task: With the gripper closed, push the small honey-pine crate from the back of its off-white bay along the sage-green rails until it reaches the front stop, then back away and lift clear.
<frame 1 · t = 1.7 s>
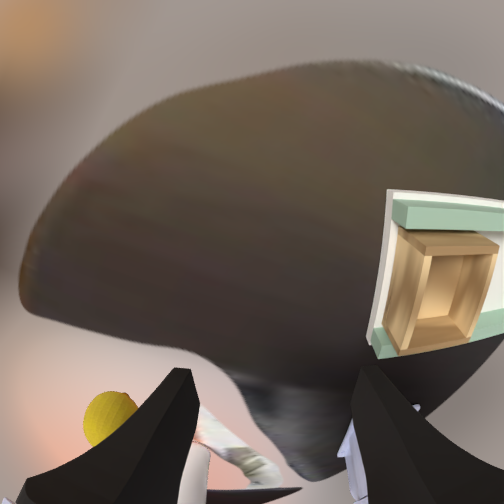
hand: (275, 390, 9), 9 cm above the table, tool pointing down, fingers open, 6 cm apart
crate: (440, 288, 14), point 3 cm above the table, slide at 0.0 cm
bay: (465, 267, 17), on the table
lemon: (126, 392, 24), on the table
drinking glass: (190, 446, 27), on the table
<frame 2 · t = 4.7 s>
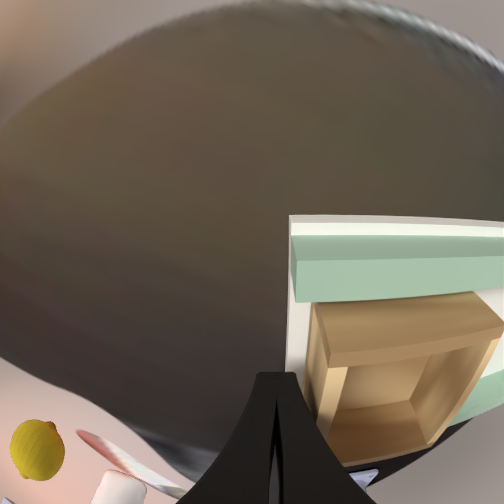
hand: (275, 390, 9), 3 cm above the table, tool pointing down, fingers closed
crate: (387, 383, 9), point 3 cm above the table, slide at 0.2 cm, touching gripper
bay: (443, 328, 11), on the table
lemon: (53, 421, 18), on the table
drinking glass: (127, 477, 22), on the table
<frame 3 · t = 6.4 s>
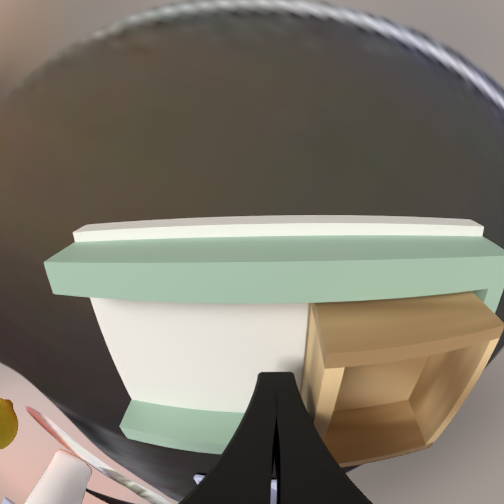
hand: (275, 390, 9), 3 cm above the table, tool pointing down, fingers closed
crate: (385, 384, 9), point 3 cm above the table, slide at 8.2 cm, touching gripper
bay: (284, 342, 11), on the table
lemon: (11, 400, 19), on the table
drinking glass: (76, 458, 22), on the table
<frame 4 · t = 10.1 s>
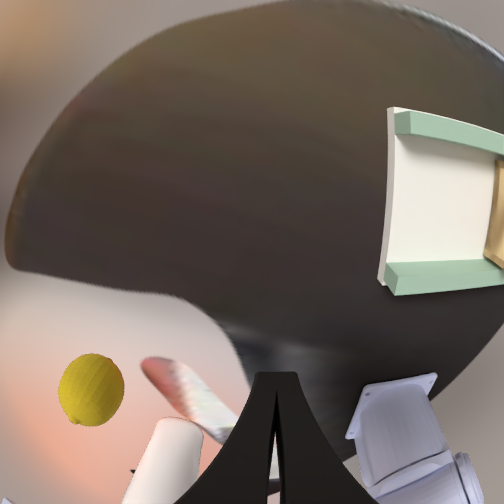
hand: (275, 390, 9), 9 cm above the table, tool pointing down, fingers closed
bay: (476, 203, 15), on the table
lemon: (110, 358, 22), on the table
drinking glass: (181, 426, 26), on the table
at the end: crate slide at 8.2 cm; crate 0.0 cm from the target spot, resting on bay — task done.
